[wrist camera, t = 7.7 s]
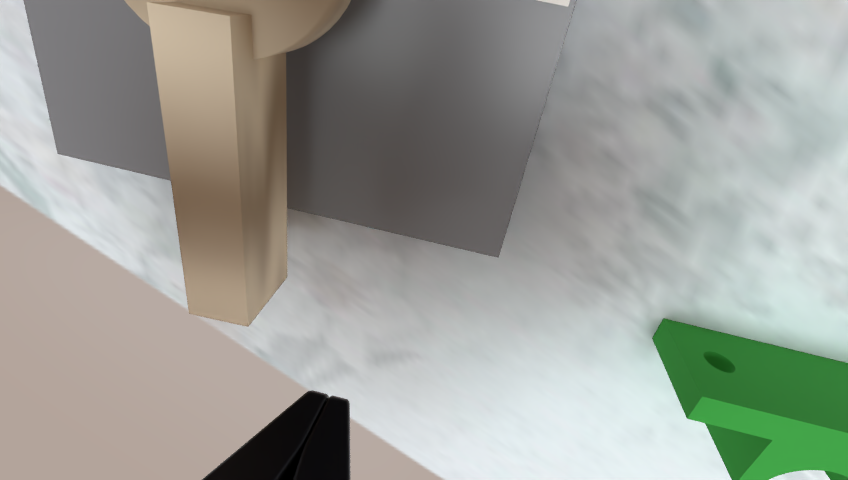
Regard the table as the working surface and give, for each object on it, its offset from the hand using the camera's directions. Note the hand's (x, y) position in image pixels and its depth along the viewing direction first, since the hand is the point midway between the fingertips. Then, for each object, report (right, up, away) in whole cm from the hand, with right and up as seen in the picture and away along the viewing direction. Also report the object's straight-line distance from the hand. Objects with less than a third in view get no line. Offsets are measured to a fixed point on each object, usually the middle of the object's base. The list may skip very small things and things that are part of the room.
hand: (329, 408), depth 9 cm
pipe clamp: (+17, -3, +11) cm, 20 cm away
